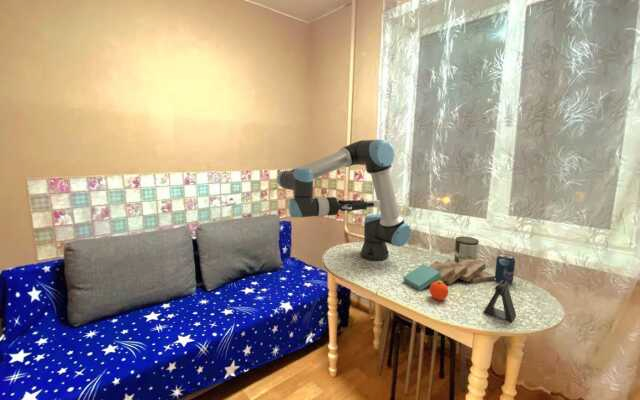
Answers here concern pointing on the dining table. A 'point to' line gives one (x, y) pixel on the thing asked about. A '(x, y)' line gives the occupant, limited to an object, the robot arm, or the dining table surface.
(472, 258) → the coffee can
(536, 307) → the dining table surface
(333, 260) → the dining table surface
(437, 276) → the teal domino
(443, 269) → the walnut domino
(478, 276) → the walnut domino
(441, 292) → the clementine
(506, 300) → the phone stand
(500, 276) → the soda can
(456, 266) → the walnut domino
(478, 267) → the walnut domino
